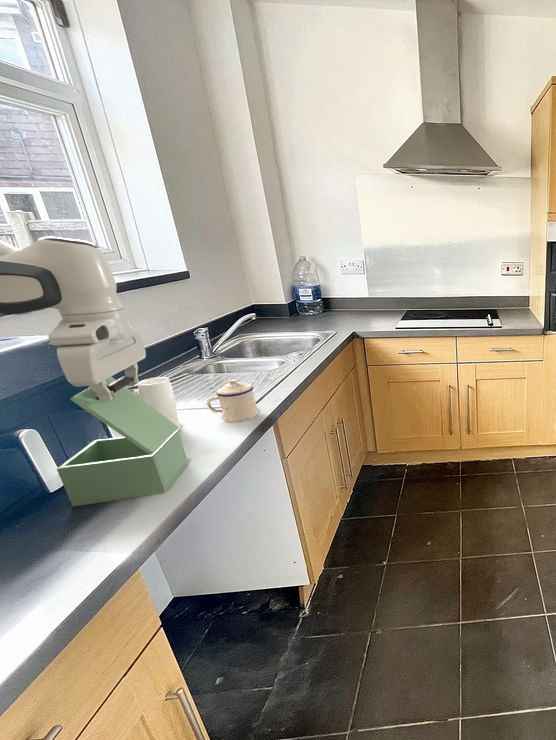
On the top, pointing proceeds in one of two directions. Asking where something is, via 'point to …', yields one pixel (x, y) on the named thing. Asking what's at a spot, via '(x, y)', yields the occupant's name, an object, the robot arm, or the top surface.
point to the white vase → (160, 397)
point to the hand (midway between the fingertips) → (121, 392)
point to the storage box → (121, 470)
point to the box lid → (128, 415)
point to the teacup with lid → (235, 401)
